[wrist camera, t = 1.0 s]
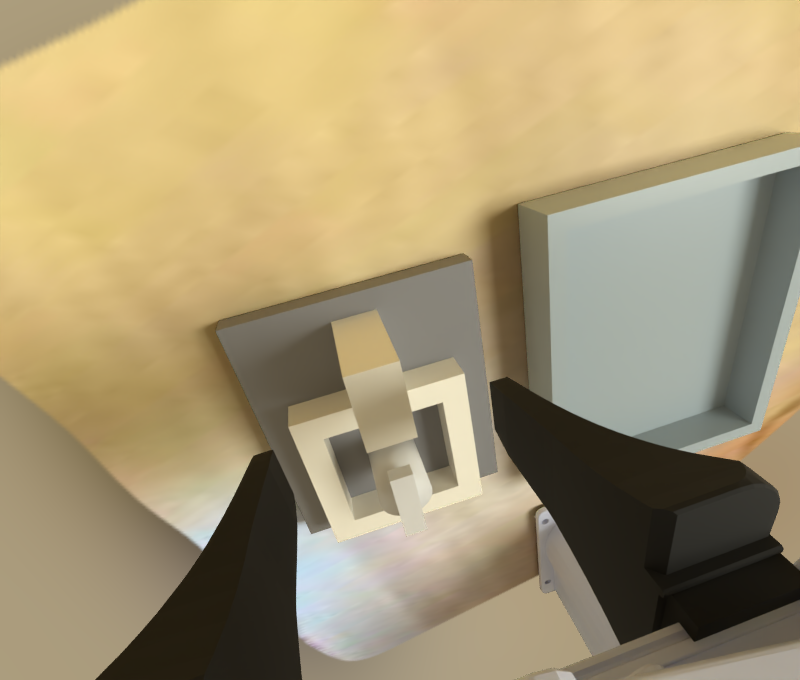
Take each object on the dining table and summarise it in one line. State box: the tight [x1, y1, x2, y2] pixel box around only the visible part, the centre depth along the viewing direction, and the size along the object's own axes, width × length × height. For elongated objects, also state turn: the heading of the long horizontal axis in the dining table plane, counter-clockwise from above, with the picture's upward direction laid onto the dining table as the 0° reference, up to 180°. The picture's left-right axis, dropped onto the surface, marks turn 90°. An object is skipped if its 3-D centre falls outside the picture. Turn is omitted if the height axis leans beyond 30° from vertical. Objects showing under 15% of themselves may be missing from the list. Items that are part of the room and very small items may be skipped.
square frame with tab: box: [288, 309, 482, 543], centre depth 19 cm, size 12×8×4 cm
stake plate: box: [216, 254, 498, 537], centre depth 20 cm, size 13×11×5 cm
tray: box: [518, 132, 800, 453], centre depth 22 cm, size 17×14×2 cm
